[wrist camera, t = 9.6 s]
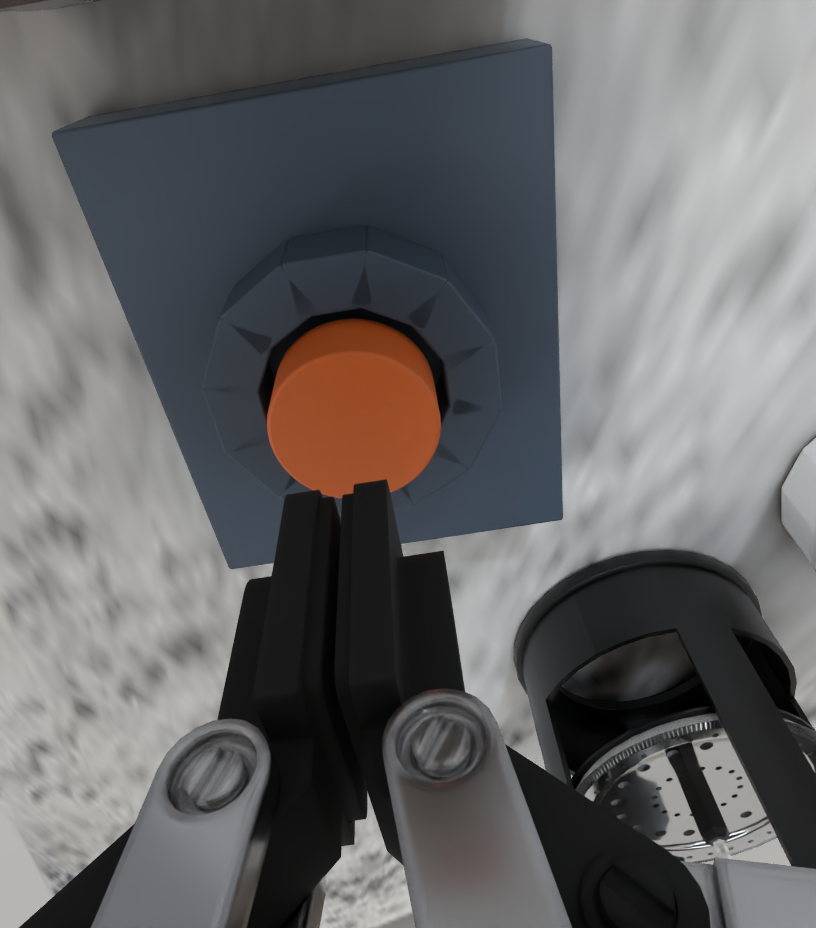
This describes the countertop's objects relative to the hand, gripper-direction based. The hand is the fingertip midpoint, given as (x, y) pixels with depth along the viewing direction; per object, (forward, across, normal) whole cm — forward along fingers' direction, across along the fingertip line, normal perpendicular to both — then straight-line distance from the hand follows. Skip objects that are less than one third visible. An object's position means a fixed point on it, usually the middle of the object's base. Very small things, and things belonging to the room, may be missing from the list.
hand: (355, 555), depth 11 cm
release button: (+5, 0, 0) cm, 5 cm away
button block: (+9, 0, 0) cm, 9 cm away
